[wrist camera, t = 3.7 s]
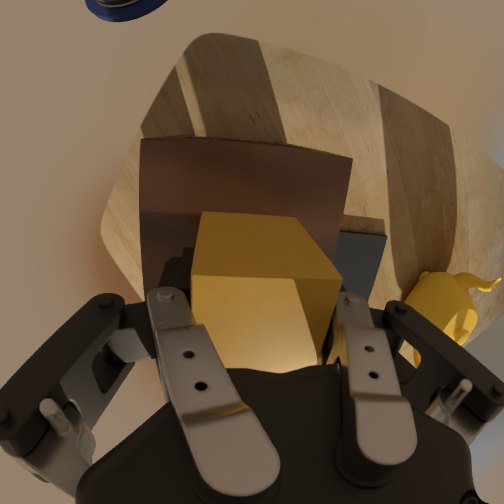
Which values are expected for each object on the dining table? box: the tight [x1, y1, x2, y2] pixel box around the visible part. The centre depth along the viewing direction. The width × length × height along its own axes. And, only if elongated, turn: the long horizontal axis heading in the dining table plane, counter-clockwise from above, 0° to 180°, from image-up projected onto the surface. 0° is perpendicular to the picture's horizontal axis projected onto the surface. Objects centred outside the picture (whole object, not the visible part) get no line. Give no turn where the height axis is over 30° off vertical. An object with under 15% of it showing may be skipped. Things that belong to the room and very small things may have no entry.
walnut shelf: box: [139, 135, 353, 301], centre depth 23 cm, size 12×12×19 cm
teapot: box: [404, 271, 501, 369], centre depth 37 cm, size 13×20×12 cm
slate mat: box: [332, 231, 387, 302], centre depth 39 cm, size 18×14×1 cm
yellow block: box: [191, 211, 343, 373], centre depth 12 cm, size 4×4×6 cm
